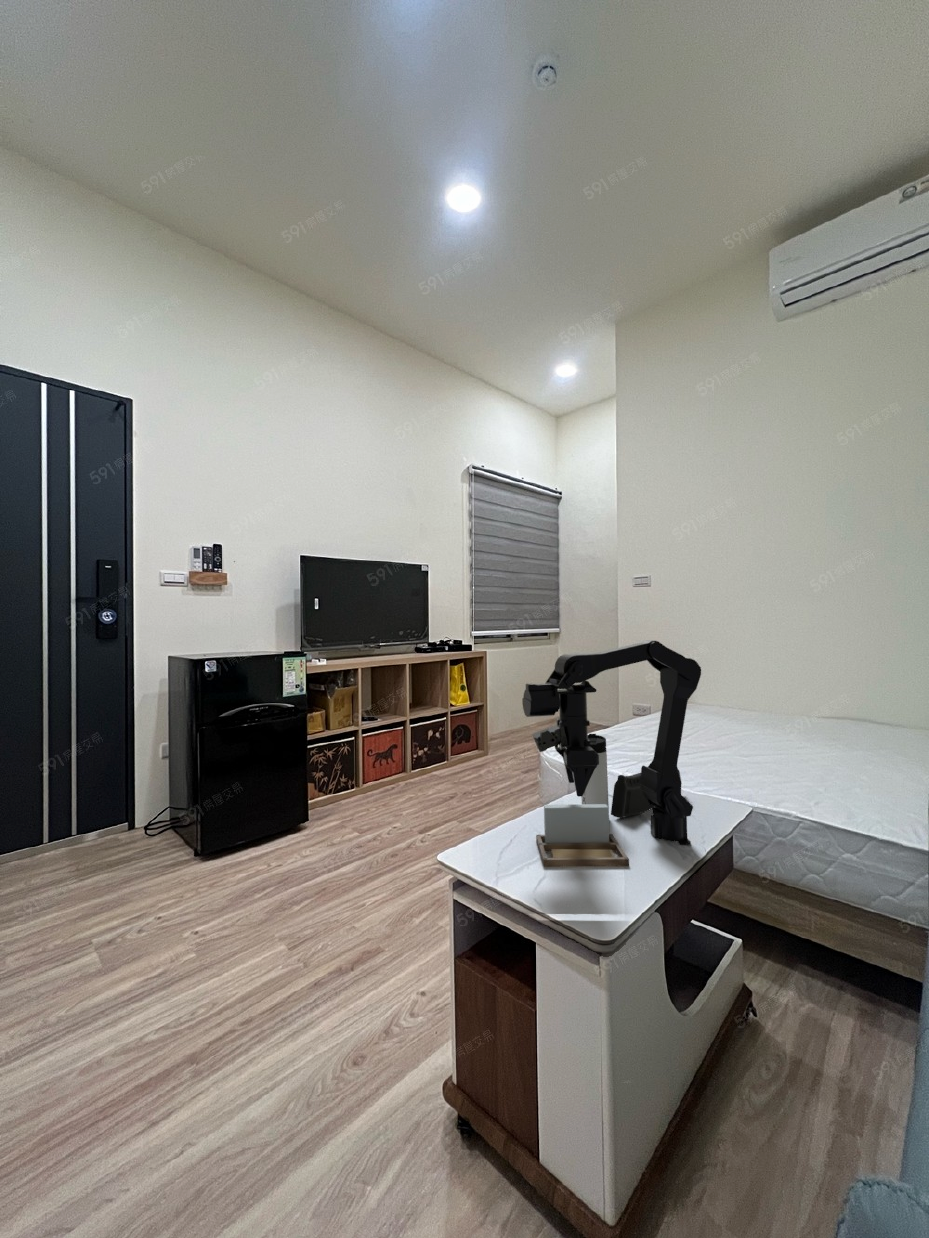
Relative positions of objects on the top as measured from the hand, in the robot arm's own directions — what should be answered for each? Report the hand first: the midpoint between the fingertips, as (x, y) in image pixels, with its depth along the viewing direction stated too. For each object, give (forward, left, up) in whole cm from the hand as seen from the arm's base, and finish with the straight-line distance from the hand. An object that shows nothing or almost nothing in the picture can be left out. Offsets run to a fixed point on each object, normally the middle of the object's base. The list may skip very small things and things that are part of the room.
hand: (575, 789), depth 107 cm
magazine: (-23, -25, -13) cm, 37 cm away
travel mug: (-8, -16, -13) cm, 22 cm away
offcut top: (0, +6, -12) cm, 13 cm away
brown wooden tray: (0, +4, -12) cm, 13 cm away
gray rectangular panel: (0, 0, -13) cm, 13 cm away
